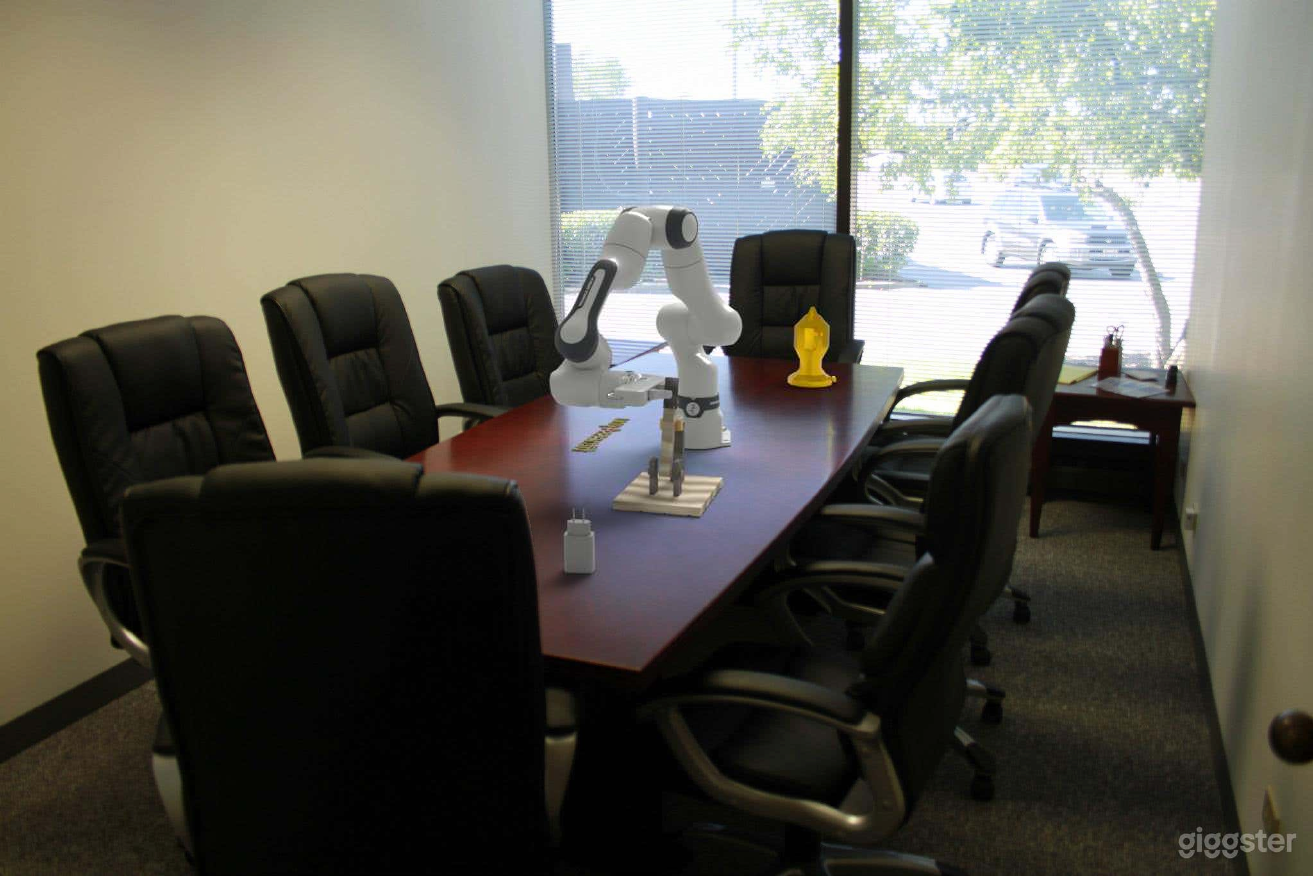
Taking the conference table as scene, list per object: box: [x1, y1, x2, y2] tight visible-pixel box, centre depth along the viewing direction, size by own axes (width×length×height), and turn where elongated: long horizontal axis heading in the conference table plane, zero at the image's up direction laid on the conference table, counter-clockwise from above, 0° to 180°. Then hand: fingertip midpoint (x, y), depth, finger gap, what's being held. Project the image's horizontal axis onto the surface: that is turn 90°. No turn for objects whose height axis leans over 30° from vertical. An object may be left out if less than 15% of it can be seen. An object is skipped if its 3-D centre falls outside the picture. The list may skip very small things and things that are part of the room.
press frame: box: [612, 422, 724, 518], centre depth 225 cm, size 24×20×16 cm
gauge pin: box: [659, 414, 683, 431], centre depth 228 cm, size 10×5×2 cm, turn 165°
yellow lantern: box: [787, 306, 837, 388], centre depth 359 cm, size 18×24×28 cm
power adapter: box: [563, 508, 596, 574], centre depth 182 cm, size 3×5×12 cm, turn 84°
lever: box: [658, 376, 679, 477], centre depth 222 cm, size 3×3×22 cm
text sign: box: [571, 417, 630, 453], centre depth 286 cm, size 40×1×8 cm
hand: (675, 392), depth 222 cm, fingers open, 4 cm apart
